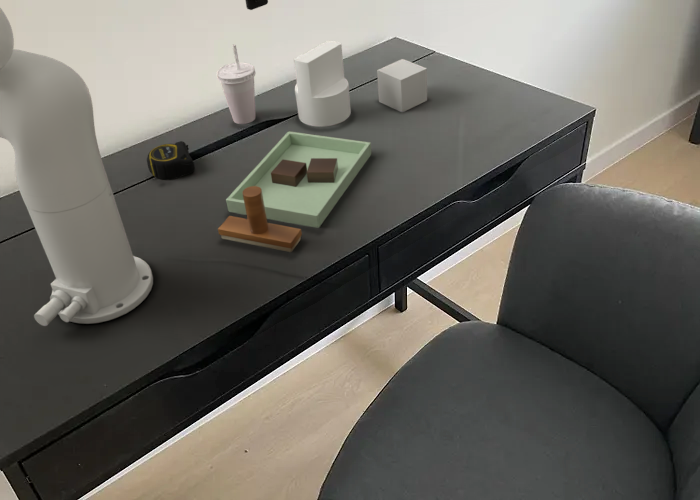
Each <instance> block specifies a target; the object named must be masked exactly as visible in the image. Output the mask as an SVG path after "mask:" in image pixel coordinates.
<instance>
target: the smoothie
mask: <svg viewBox="0 0 700 500" xmlns="http://www.w3.org/2000/svg"><path fill="white" fill-rule="evenodd" d="M232 50H233V56H234V62H232V63H228V64H225V65H223V66H220V67H219V68H218V70H217V71H216V79H217V81H218V82H220V85H221V89H222V91H223V94H224V98H225V101H226V103H227V106H228V109H229V112H230V115H231V118H232V122H233V123H235V124H238V125H245V124H246V125H247V124H251V123H253V121H255V120H256V92H255V76H256V69H255V66H254V65H253V64H251V63H248V62H240V61H239V54H238V49H237V45H236V44H232Z"/></svg>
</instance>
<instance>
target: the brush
mask: <svg viewBox="0 0 700 500" xmlns="http://www.w3.org/2000/svg"><path fill="white" fill-rule="evenodd" d="M242 194H243V199H244V204H245V209H246V214H247V215H246V218H245V217H244V218H243V217H238V216H234V215H233V216H232V215H229V216H227V218H226V219H225V220H224V221H223V222H222V223H221V225H220V226H219V227H218V228H217V232H218V235H220V237H221V239H222V240H228V241H233V242H237V243H243V244H247V245H253V246H256V247H257V246H258V247H263V248H268V249H271V250H272V249H273V250H278V251H284V252H287V253H288V252H289V253H292V252H293V251H294V250H295V248H296V247H297V245H298V244H299V242H300V241H301V240H302V238H301V237H302V236H303V234H302V233H303V231H302V229H301V228H297V227H294V226H293V227H292V226H286V225H282V224H276V223H270V222H268V219H267V217H266V211H265V206H264V200H263V194H262V189H261V188H260V187H257V186H251V187H247V188H246V189H244V190H243V192H242Z"/></svg>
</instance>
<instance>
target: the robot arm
mask: <svg viewBox="0 0 700 500" xmlns="http://www.w3.org/2000/svg"><path fill="white" fill-rule="evenodd" d="M268 3H269V0H245V6H246V9H247V10H249V11H253V10H255V9H258V8H261V7H264V6H266V5H268ZM14 46H15V37H14V32H13V29H12V25H11V23H10V21H9V19H8V17H7V15H6V14H5V12H4V10H3V9H2V8H1V7H0V138H1V139H4V140H6V141H8V142H9V143H10V145H11V146H12V149H13V151H14V177H15V182H16V185H17V188H18V190H19V193H20V196H21V198H22V201H23V203H24V205H25V207H26V210H27V212H28V214H29V217H30V219H31V223H32V224H33V226H34V229H35V232H36V233H37V236H38V238H39V241H40V244H41V246H42V249H43V251H44V253H45V255H46V258H47V260H48V262H49V265H50V267H51V270H52V272H53V274H54V277H55V279H54V280H53V281H51V283H50V287H51V295H50V296H49V301H48V302H47V303H46V304H44V305H43V306H42V307H41V308H40V309H38V310H37V312H35V314H33V319H34V320H35V321H36V323H37V324H39V325H40V326H43V327H47V326H48V325H49V324H51V322H53V320H54V319H55V318H56V317H57V316H59V318H60V319H61V321H63V322H64V323H69V322H72V323H75V324H83V325H84V324H86V325H89V324H99V323H103V322H108V321H111V320H115V319H117V318H119V317H122V316H124V315H126V314H128V313H129V312H131V311H133V310H134V309H136V307H138V306H139V305H141V303H142V302H143V301H145V300H146V298H147V297H148V296H149V294H150V292H151V291H152V288H153V285H154V275H153V272H152V269H151V267H150V265H149V264H148V263H147V262H146V260H143V259H142V258H140V257H137V256H135V255H134V254H133V251H132V248H131V245H130V242H129V238H128V235H127V233H126V230H125V227H124V223H123V220H122V218H121V215H120V211H119V208H118V205H117V202H116V199H115V195H114V193H113V189H112V186H111V184H110V181H109V177H108V175H107V171H106V169H105V165H104V162H103V158H102V156H101V152H100V151H101V150H100V148H99V144H98V139H97V134H96V127H95V116H94V107H93V106H94V105H93V100H92V95H91V93H90V90H89V87H88V85H87V84H86V82H85V80H84V79H83V78H82V76H81V75H80V74H79V73H78V72H77V71H76V70H75V69H74V68H72V67H70V66H69V65H67V64H65V63H64V62H62V61H60V60H58V59H55V58H53V57H50V56H47V55H43V54H39V53H34V52H30V51H26V50H21V49H15V47H14Z"/></svg>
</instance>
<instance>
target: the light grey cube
mask: <svg viewBox="0 0 700 500" xmlns="http://www.w3.org/2000/svg"><path fill="white" fill-rule="evenodd" d="M376 76H377V77H376V78H377V92H378V95H377V96H378V103H381V104H383V105H385V106H387V107H388V108H391V109H393V110H395V111H397V112H400V113H404V112H407V111H408V110H410V109H413V108H415V107H416V106H418V105H422V103H425V102H427V101H428V68H427V67H424V66H421V65H420V64H417V63H415V62H412V61H409V60H407V59H404V58H401V59H399V60H396V61H394V62H392V63H390V64H387V65H386V66H385V65H384V66H383V67H381V68H379V69H377V70H376Z"/></svg>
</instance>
